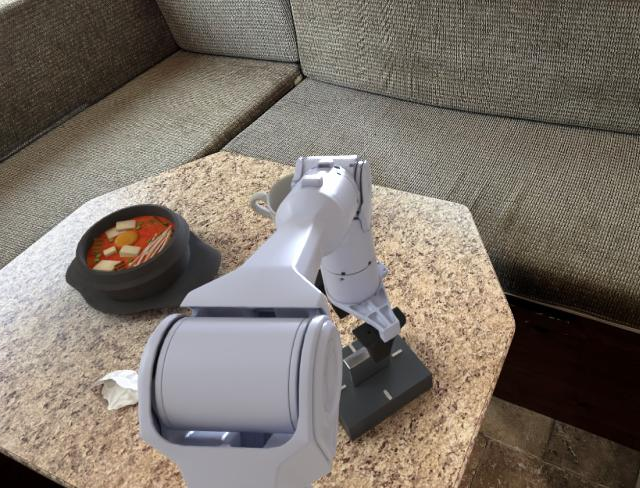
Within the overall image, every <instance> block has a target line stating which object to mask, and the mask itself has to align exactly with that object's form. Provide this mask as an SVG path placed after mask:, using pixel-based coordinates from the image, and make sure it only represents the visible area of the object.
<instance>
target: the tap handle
mask: <svg viewBox="0 0 640 488" xmlns="http://www.w3.org/2000/svg"><path fill="white" fill-rule="evenodd" d="M343 362H344V366H345V370H346V374H347V378H348V380H349V381H350V382H351V384H352V385H353V387H355V386H356V385H358V384H360V383H361V382H363V381H364V380H366V379H367V378H369V377H371V376H372V375H374V374H375V373H377V372H378V371H380V370H382V369H383V368H385V367H386V366H388V365H389V364H391V360H390V355H389V356H387V357H386V358H384V359H383V360H381V361H379V362H378V363H375V362H374V361H373V359H372V358H371V357H370V355H369V353H368V351H367V348H365V347H363V348H361V349H360V350H358V351H357V352H355V353H353V354H352V355H350V356H348V357H347V358H345V359H344V360H343Z"/></svg>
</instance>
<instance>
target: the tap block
mask: <svg viewBox="0 0 640 488" xmlns="http://www.w3.org/2000/svg"><path fill="white" fill-rule="evenodd" d="M363 347H364V346H363V345H362V344H361V343H360V342H359V341H358V339H357V338H356V340H354V341H352V342H351V343H349V344H347V345H345V346H344V347H342V362H343V360H344V359H345V358H347V357H348V356H350V355H352V354H353V353H355V352H357V351H358V350H360V349H361V348H363ZM390 360H391V364H389V365H388V366H386V367H385V368H383V369H382V370H380V371H378V372H377V373H375V374H374V375H372V376H371V377H369V378H367V379H366V380H364V381H363V382H361V383H360V384H358V385H356V386H355V387H353V385H352V384H351V382H350V381H349V380H348V378H347V374H346V370H345V366H344V362H343V367H342V386H341V395H340V401H339V415H338V424H340V426H341V427H342V429H343V431H344V432H345V433H346V435H347V436H348V438H349V440H350V441H351V442H354V441H355V440H357V439H359V438H360V437H362V436H363V435H364V434H366V433H368V432H369V431H371V430H372V429H373V428H374V427H376V426H378V425H380V424H381V423H382V422H384V421H385V420H386V419H388V418H389V417H391V416H392V415H394V414H396V413H397V412H399V411H400V410H401V409H402V408H404V407H406V406H407V405H408V404H410V403H412V402H413V401H414V400H416V399H417V398H419V397H420V396H422V395H423V394H425V393H426V392H428V391H430V390H431V389H432V388H433V387H434V379H433V373H432V371H430V368H428V367H427V366H426V365H425V364H424V362H423V361H422V360H421V358H419V356H418V355H417V354H416V353H415V352H414V350H413V349H412V348H411V347H410V346H409V345H408V344H407V342H406V341H405V339H404V338H402V336H401V335H400V334H398V335H396V337H395V339H394V342H393V345H392V349H391V353H390Z"/></svg>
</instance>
